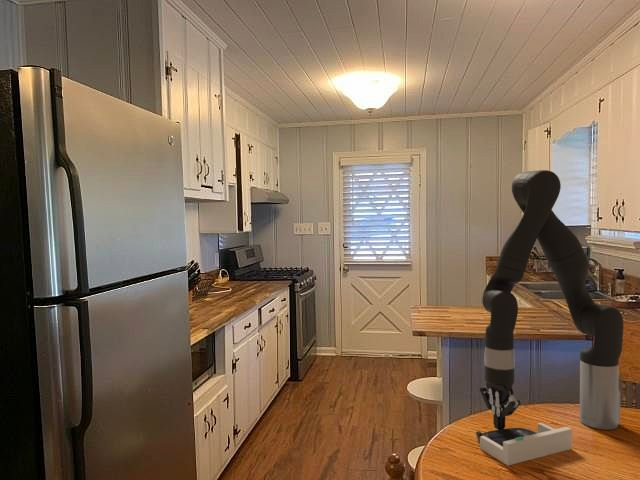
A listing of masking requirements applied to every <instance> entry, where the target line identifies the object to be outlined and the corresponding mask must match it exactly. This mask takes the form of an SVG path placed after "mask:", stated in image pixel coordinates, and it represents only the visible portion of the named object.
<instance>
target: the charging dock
mask: <svg viewBox="0 0 640 480" xmlns="http://www.w3.org/2000/svg"><path fill="white" fill-rule="evenodd" d="M572 430H573V429H572V428H570V427H568V426H563V427H559V428H553V427H552V426H549V425H547V424H544V422H538V423H537V433H538V434H533V435H529V436H525V437H522V436H521V437H517V438H515V439H512V440H508V441H504V442H503V447H502V446H501V445H499V444H497V443H496V442H494V441H492V440H490V439H489V438H487V437H485V436H480V441H479V449H480V450H482V451H483V452H486V453H487V454H488V455H489V456H492V457H493V458H495V459H497V460H498V461H499V462H501V463H502V464H505V465H506V466H512V465H515V464H519V463H522V462H527V461H530V460H531V461H532V460H534V459H539V458H542V457H545V456H550V455H553V454H558V453H562V452H565V451H569V450H572V439H573V438H572V435H573V434H572Z"/></svg>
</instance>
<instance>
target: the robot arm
mask: <svg viewBox="0 0 640 480" xmlns="http://www.w3.org/2000/svg"><path fill="white" fill-rule="evenodd" d="M561 186H562V185H561V180H560V177H559V176H558V175H557V174H556V173H554V172H553V171H551V170H548V169H540V170H530V171H523V172H520V173H518V174H517V175H516V176H515V177H514V178H513V180H512V182H511V193H512V196H513V198H514V200H515V202H516V204H517V205H518V207H519V209H520V210H521V213H522V217H521V219H520V221H519V222H518V224H517V226H516V227H515V228H514V230H513V231H512V233H511V234H510V235H509V236H508V237H507V240H506V241H505V243H504V244H503V246H502V249H501V251H500V254H499V257H498V260H497V263H496V267H495V271H494V273H492V276H491V277H490V279H489V281H488V283H487V284H486V286H485V288H484V291H483V293H482V300H481V301H482V306H483V308H484V309H485V310H486V311H487V312H488V313H490V322H489V323H490V324H488V325H487V326H486V328H485V333H484V334H485V336H484V337H485V339H484V340H485V343H484V344H485V346H484V347H485V348H484V354H483V355H484V357H483V358H484V362H483V363H484V364H483V365H484V366H483V367H484V368H483V369H484V370H483V371H484V376H483V377H484V381H485V386H483V387H480V388H479V392H480V394H481V396H482V398H483V400H484V403H485V405H486V408H487V410H491V412H492V414H493V421H492V422H493V423H492V424H493V425H494V426H493V427H494V428H495V430H499V429H506V417H509V416H512V415H513V414H514V413H515V412H516V411H517V409H518V408H519V407H520V406H521V404H522V403H521V402H522V401H520V400H519V399H516V398H515V396H514V390H513V385H514V384H515V379H516V378H515V377H516V375H515V374H516V372H515V370H516V369H515V367H516V366H515V363H516V362H515V358H516V357H515V350H514V349H515V348H514V347H515V346H514V343H515V341H514V340H515V338H514V335H515V334H514V331H515V328H516V324H517V318H518V313H519V304H518V300H517V297H516V296H515V295H514V294H513V292H512V291H513V289H514V287H515V285H516V284H519V283H521V281H522V280H523V277H524V275H525V272H526V268H527V266H528V263H529V259H530V256H531V253H532V250H533V248H534V245H535V244H536V241H538V244H539V245H540V247H541V249H542V251H543V254H544V256H545V259H546V260H547V261H546V262H547V263H548V265H549V267H550V268H551V271H552V273H553V274H554V276H555V279H556V281H557V283H558V285H559V287H560V289H561V292H562V294H563V296H564V298H565V301H566V304H567V307H568V310H569V314H570V316H571V319H572V322H573V325H574V326H575V328H576V329H577V330H578V331H579V332H581V334H583V335H586V336H589V337H593V346H591V347H586V348H582V349H581V350H580V351H579V421H580V423H582V424H584V425H585V426H587V427H589V428H594V429H598V430H606V431H608V430H609V431H610V430H615V429H617V428H619V425H620V424H621V390H620V389H619V377H620V376H619V365H620V364H619V361H620V358H621V355H622V351H623V341H624V340H623V339H624V318H623V315H622V313H621V311H620V310H619V309H618V308H616V307H614V306H611V305H607V304H606V305H605V304H599V303H596V302H595V301H594V300H593V298H592V297H591V295H590V292H589V290H588V288H587V283H586V282H587V278H588V277H587V276H588V271H589V260H588V256H587V255H586V252H585V250H584V248H583V246H582V244H581V242H580V240H579V239H578V237H577V236H576V234H574V232H573V231H572V230H571V229H570V228H568V226H567V225H566V224H565V223H564V222H562V221H561V219H559V217H558V216H557V215H556V214H555V212H554V211H553V208H554V206H555V204H556V202H557V200H558V198H559V195H560V192H561V188H562V187H561Z"/></svg>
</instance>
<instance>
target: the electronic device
mask: <svg viewBox="0 0 640 480" xmlns="http://www.w3.org/2000/svg"><path fill="white" fill-rule="evenodd" d="M533 434H538V432H536V431H533V430H531V429H529V428H528V429H527V428H523V427H510V428H504V429H499V430H498V429H495V430H490V431H485V432H481V431H480V430H476V431H475V435H476V438H477V442H480V436H485V437H487V438H489V439H490V440H492V441H494V442H496V443H497V444H499V445H501V446H502V447H503V442H504V441H508V440H512V439H515V438H517V437H521V436H522V437H525V436H529V435H533Z"/></svg>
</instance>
